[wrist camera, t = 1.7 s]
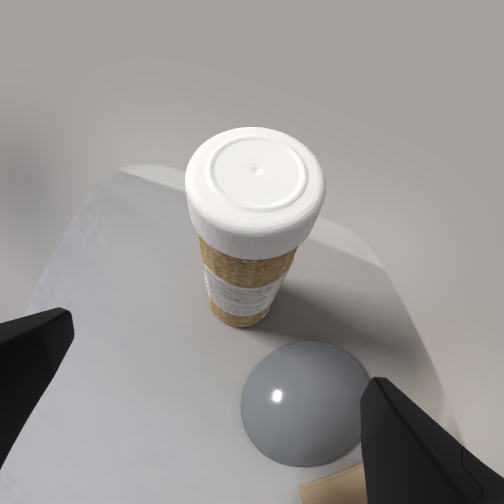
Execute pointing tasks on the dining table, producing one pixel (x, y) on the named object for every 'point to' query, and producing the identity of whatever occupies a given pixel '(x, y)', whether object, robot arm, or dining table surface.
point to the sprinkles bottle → (251, 215)
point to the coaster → (304, 403)
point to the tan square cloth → (337, 488)
